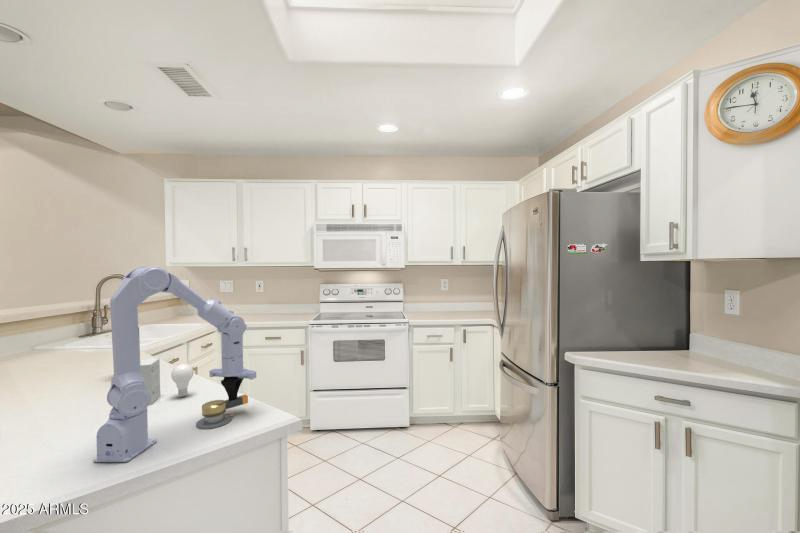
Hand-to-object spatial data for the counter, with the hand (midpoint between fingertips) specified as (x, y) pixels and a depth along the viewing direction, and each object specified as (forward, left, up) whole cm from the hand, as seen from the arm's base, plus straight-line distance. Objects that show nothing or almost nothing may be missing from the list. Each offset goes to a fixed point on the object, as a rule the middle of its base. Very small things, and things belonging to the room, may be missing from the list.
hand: (233, 401), depth 103 cm
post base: (-6, +2, -3) cm, 7 cm away
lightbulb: (+13, +24, -4) cm, 28 cm away
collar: (-3, +1, -1) cm, 3 cm away
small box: (+9, +34, -4) cm, 36 cm away
